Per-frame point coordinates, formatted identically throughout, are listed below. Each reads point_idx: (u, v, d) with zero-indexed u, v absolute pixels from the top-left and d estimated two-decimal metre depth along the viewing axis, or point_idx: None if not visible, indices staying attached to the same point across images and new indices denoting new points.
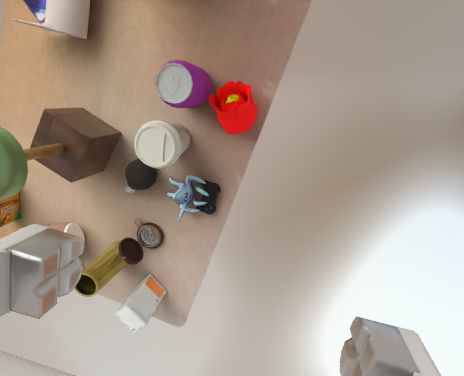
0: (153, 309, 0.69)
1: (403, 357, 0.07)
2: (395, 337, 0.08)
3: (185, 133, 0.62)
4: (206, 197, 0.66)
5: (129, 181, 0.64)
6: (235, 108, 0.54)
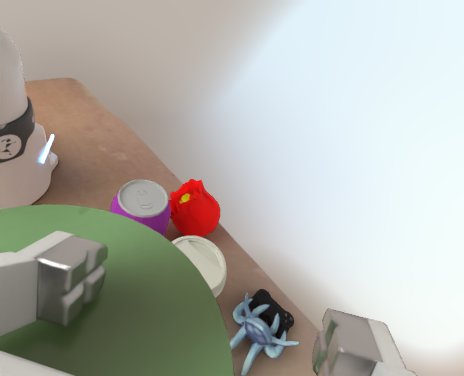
0: None
1: (368, 347, 0.07)
2: (363, 328, 0.08)
3: None
4: (270, 311, 0.46)
5: None
6: (200, 189, 0.49)
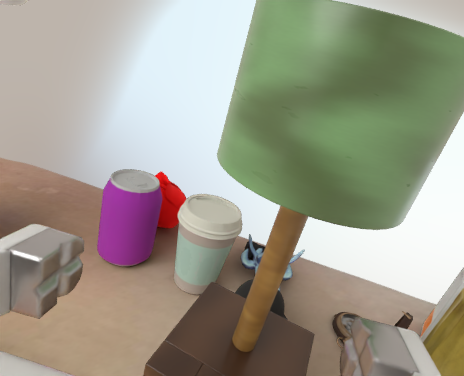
0: (448, 288, 0.47)
1: (403, 357, 0.07)
2: (395, 337, 0.08)
3: None
4: None
5: None
6: (165, 178, 0.52)
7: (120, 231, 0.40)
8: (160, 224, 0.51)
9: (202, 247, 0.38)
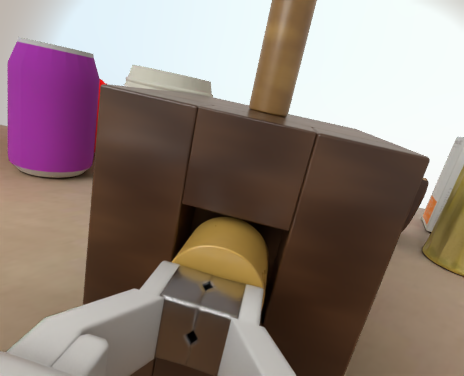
0: None
1: (230, 306, 0.07)
2: (236, 291, 0.08)
3: None
4: None
5: None
6: (100, 85, 0.41)
7: (40, 113, 0.28)
8: None
9: None
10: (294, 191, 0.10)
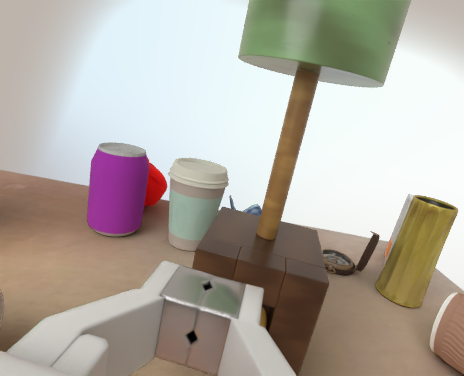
0: None
1: (230, 306, 0.07)
2: (236, 291, 0.08)
3: None
4: None
5: None
6: None
7: (114, 197, 0.42)
8: None
9: (197, 198, 0.42)
10: (277, 292, 0.23)
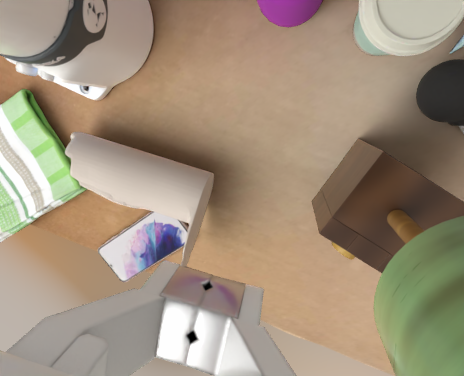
0: None
1: (230, 306, 0.07)
2: (236, 291, 0.08)
3: None
4: None
5: None
6: None
7: (282, 15, 0.32)
8: None
9: None
10: None
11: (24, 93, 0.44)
